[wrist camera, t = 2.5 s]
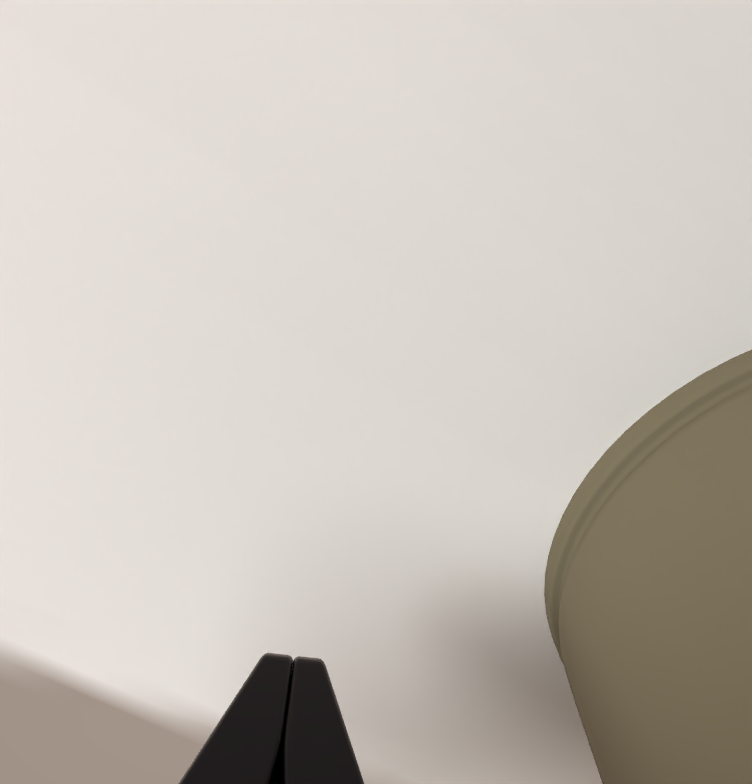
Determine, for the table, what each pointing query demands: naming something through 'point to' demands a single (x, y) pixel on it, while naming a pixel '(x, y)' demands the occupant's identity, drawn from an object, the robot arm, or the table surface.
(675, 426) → the can
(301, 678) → the robot arm
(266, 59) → the table surface
